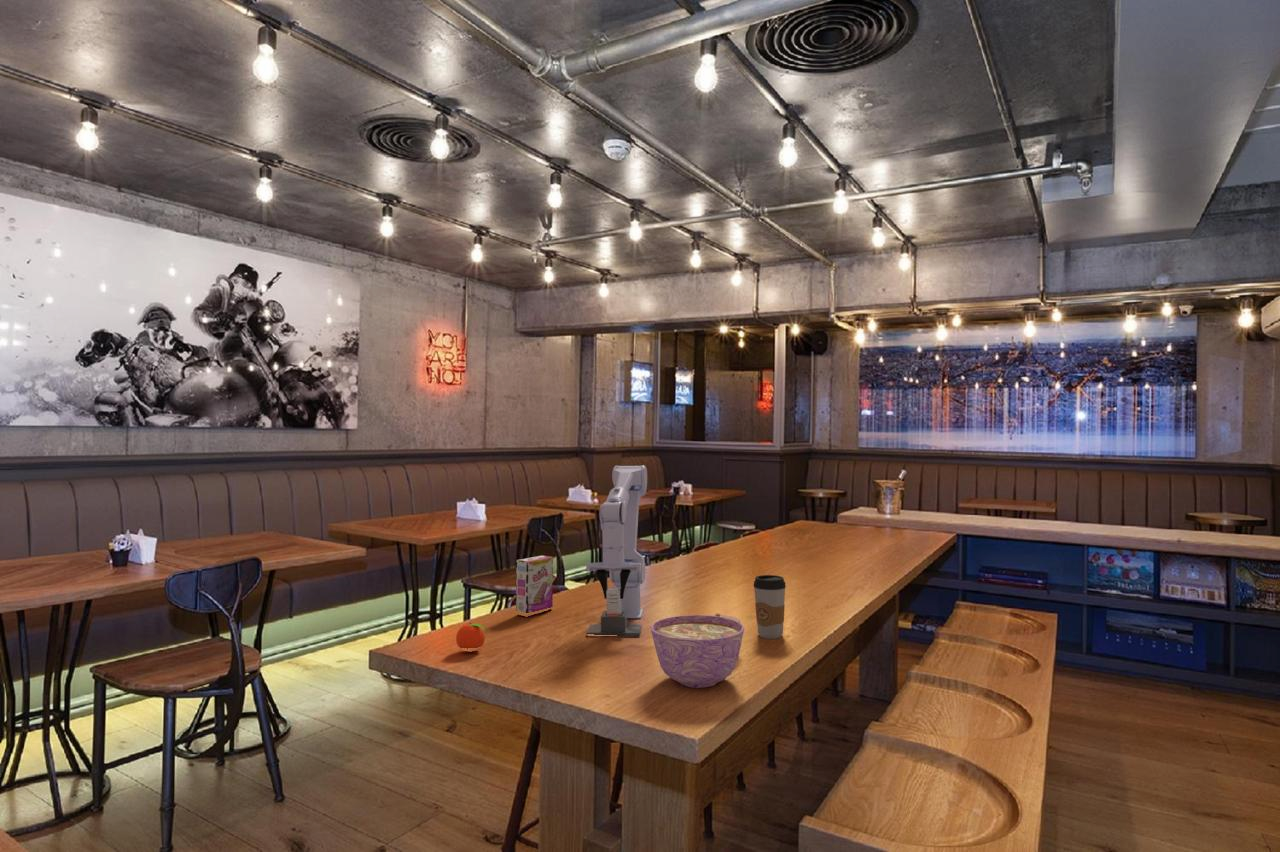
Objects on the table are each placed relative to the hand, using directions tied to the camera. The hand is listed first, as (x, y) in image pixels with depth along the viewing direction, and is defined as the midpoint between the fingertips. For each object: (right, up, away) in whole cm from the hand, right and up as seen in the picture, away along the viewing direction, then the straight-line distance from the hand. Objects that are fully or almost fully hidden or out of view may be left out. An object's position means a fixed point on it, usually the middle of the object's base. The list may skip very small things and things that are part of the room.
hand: (614, 597), depth 190 cm
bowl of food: (+19, -9, -39) cm, 44 cm away
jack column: (0, -6, 0) cm, 6 cm away
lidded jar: (+26, -9, -19) cm, 33 cm away
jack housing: (0, -9, 0) cm, 9 cm away
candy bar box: (-24, -10, +22) cm, 35 cm away
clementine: (-34, -10, -16) cm, 39 cm away
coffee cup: (+41, -9, -5) cm, 42 cm away
